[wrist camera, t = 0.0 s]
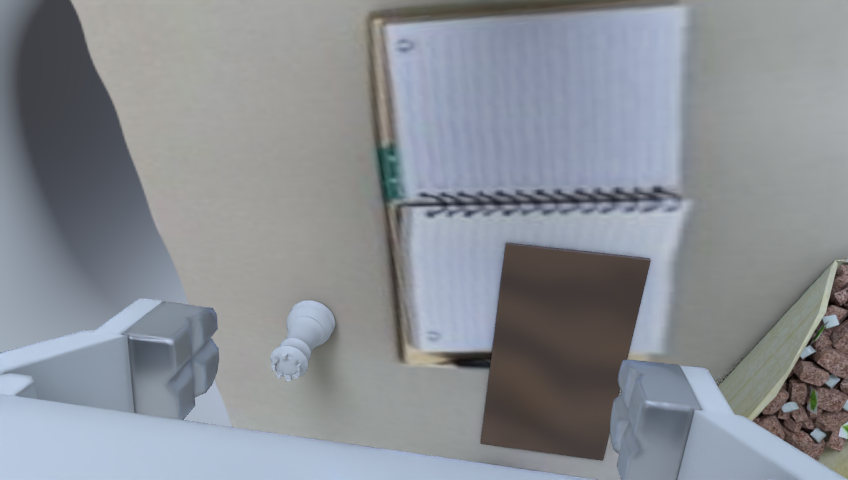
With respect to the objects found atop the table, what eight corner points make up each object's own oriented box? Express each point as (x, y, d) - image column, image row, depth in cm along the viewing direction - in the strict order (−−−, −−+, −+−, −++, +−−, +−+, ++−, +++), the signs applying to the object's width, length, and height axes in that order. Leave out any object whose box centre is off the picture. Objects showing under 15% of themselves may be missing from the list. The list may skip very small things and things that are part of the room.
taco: (619, 448, 61) (637, 536, 52) (813, 226, 49) (881, 288, 40) (704, 490, 62) (737, 583, 52) (915, 280, 50) (1005, 353, 41)
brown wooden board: (505, 242, 53) (505, 244, 53) (649, 258, 52) (650, 260, 52) (480, 440, 63) (480, 443, 62) (602, 457, 62) (603, 460, 61)
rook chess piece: (290, 334, 60) (259, 385, 53) (291, 294, 59) (259, 342, 51) (335, 341, 60) (311, 394, 53) (337, 301, 58) (312, 351, 51)
